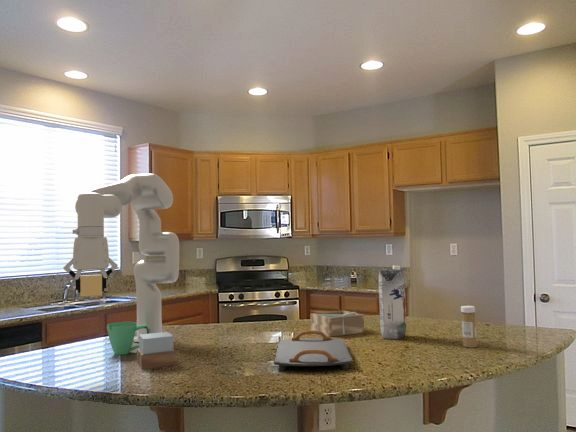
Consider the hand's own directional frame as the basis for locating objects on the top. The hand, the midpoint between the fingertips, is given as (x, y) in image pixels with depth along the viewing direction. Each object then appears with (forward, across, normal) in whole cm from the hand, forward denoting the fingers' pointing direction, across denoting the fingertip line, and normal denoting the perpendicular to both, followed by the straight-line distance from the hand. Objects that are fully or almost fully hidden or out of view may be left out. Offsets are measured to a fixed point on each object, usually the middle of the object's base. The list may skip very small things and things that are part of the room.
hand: (91, 291), depth 147 cm
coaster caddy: (+24, +94, +14) cm, 98 cm away
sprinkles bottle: (+24, +117, -35) cm, 124 cm away
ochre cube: (+1, 0, 0) cm, 1 cm away
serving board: (+24, +64, -21) cm, 72 cm away
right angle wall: (+24, +94, +14) cm, 98 cm away
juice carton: (+24, +106, -8) cm, 109 cm away
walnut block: (+24, +19, -4) cm, 30 cm away
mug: (+24, +13, +17) cm, 32 cm away
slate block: (+19, +19, -3) cm, 27 cm away
